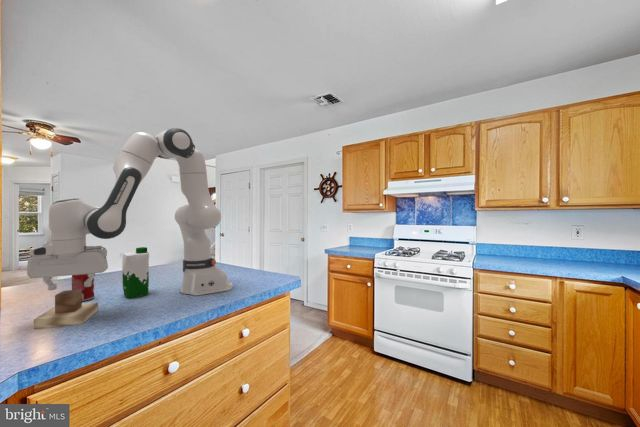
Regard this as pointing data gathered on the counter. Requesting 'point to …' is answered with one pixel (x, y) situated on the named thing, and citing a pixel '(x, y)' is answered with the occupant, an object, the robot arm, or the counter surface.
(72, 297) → the walnut block
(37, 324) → the maple plinth
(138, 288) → the milk carton
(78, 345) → the counter surface
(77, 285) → the soda can
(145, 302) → the counter surface
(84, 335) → the counter surface
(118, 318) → the counter surface
